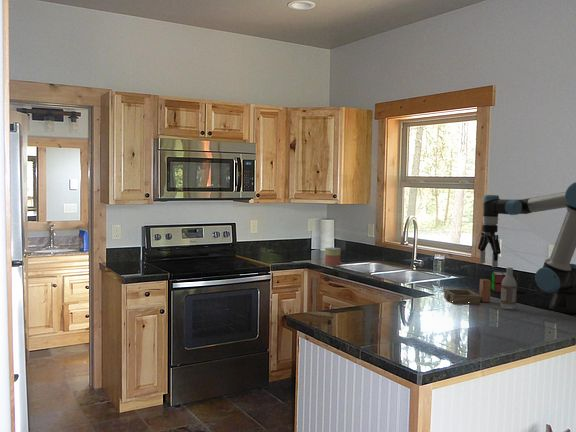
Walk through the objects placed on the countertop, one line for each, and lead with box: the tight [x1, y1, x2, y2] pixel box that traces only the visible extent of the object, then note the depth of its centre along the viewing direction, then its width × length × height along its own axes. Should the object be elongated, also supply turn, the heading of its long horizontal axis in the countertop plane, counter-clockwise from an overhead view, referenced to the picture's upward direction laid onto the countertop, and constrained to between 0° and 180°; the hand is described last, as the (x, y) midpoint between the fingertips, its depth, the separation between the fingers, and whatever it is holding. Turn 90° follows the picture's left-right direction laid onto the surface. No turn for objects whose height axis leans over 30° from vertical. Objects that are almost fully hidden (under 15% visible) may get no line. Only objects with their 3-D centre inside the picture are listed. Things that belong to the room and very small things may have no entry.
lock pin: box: [445, 278, 492, 303], centre depth 285 cm, size 4×22×11 cm, turn 91°
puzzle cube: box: [490, 271, 515, 293], centre depth 315 cm, size 10×10×10 cm
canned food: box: [324, 247, 342, 267], centre depth 401 cm, size 11×11×12 cm
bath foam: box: [500, 267, 517, 311], centre depth 270 cm, size 7×7×20 cm
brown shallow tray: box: [443, 288, 481, 306], centre depth 285 cm, size 15×13×4 cm
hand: (488, 264), depth 290 cm, fingers open, 13 cm apart
